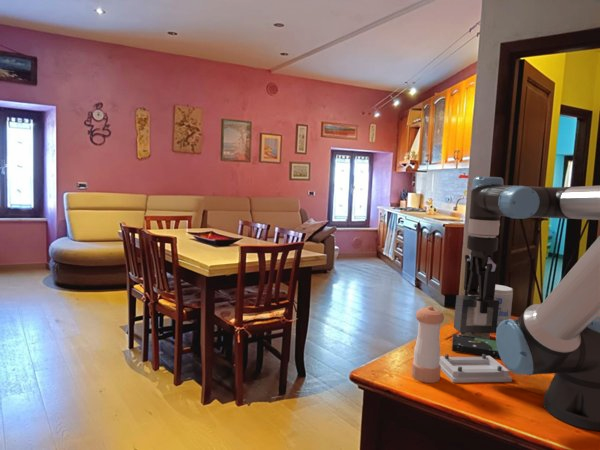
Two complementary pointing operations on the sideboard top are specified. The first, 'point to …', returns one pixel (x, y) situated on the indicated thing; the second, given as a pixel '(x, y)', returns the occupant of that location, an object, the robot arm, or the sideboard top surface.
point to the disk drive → (475, 345)
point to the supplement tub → (503, 302)
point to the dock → (474, 369)
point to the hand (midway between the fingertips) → (475, 321)
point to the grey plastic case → (467, 313)
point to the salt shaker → (427, 346)
